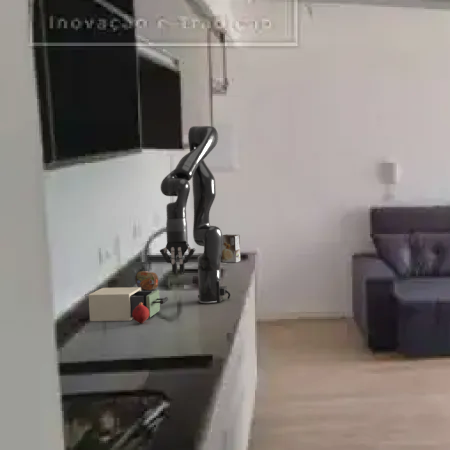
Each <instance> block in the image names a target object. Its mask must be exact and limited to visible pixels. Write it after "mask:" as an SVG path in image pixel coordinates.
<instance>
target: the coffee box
mask: <svg viewBox="0 0 450 450" xmlns="http://www.w3.org/2000/svg"><path fill="white" fill-rule="evenodd" d="M240 237H241V235H240V234H226V233H225V234H222V238H223V242H222V256H221V260H222V261H221V263H239V262H241V239H240Z"/></svg>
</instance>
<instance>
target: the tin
mask: <svg viewBox="0 0 450 450" xmlns="http://www.w3.org/2000/svg"><path fill="white" fill-rule="evenodd" d="M134 281H135V284H136V287H141V290H144V291H153V290H154V291H155V290H157V288H158V287H159V276H158V275H157V273H156V272H154V271H146V270H140V271H137V273H136V275H135V279H134Z"/></svg>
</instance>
